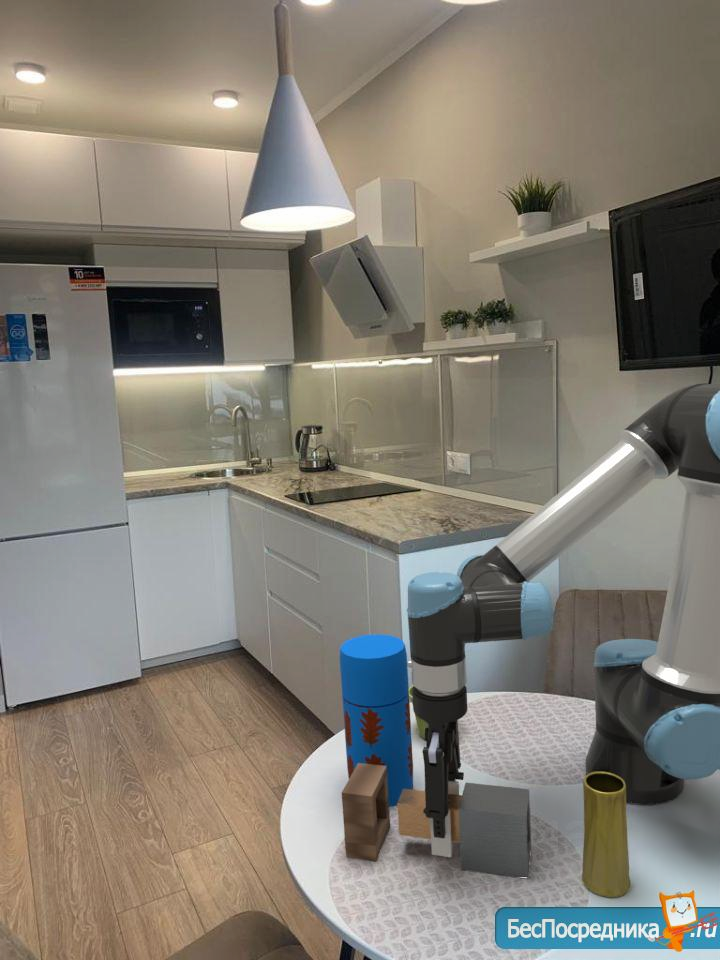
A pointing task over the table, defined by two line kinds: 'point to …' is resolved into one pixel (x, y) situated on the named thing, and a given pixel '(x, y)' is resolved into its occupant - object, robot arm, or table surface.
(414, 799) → the rectangular peg
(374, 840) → the socket block
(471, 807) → the sleeve
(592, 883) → the vase
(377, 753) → the thermos
